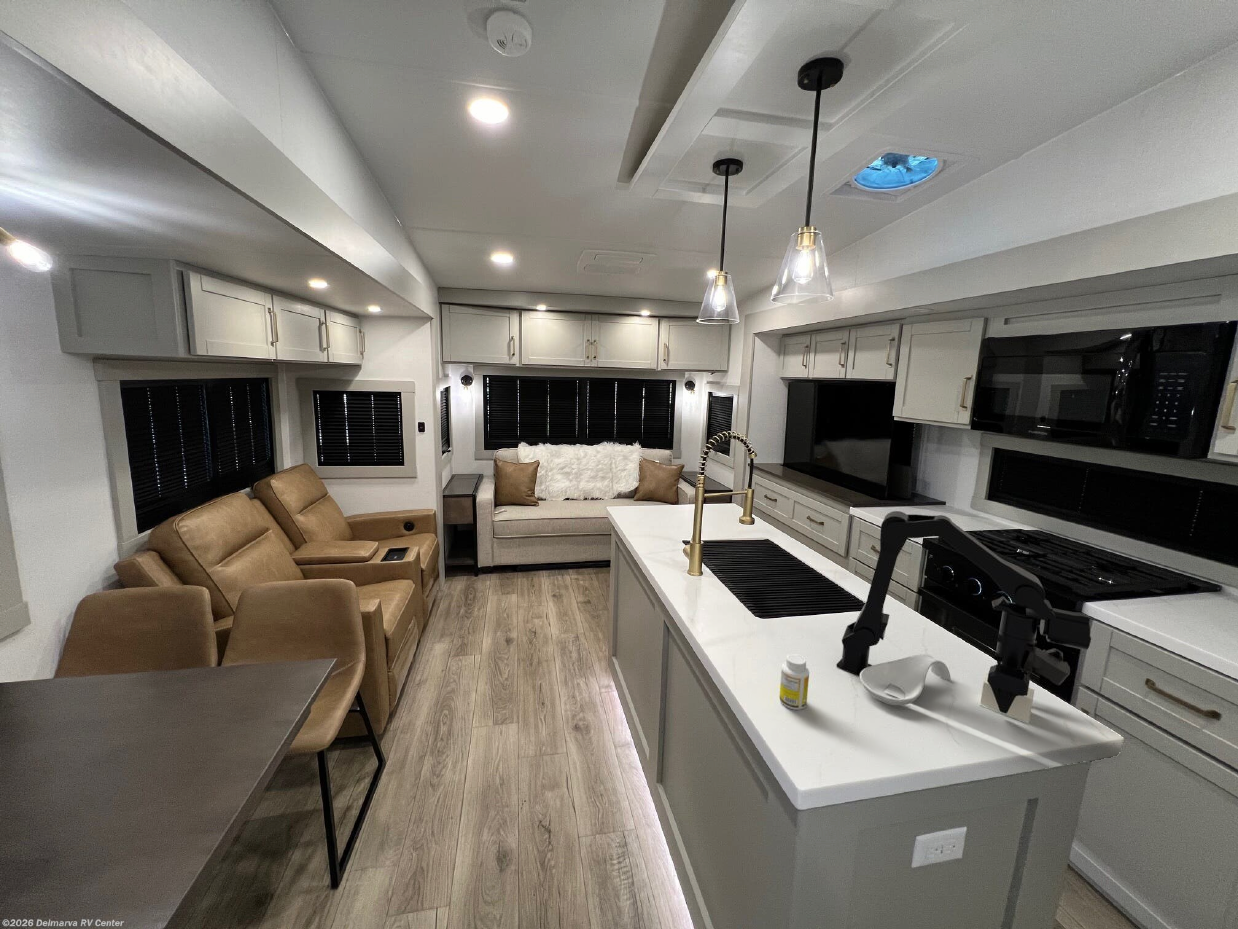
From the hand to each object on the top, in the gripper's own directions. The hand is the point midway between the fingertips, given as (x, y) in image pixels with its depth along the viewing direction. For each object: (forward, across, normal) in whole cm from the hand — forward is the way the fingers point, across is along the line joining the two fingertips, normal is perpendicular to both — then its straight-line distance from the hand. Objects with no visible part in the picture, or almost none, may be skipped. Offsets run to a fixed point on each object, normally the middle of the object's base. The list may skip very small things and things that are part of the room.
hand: (1005, 702), depth 101 cm
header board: (+2, +4, 0) cm, 5 cm away
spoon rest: (+3, -6, +17) cm, 18 cm away
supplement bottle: (+3, -29, +33) cm, 44 cm away
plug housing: (+1, 0, 0) cm, 1 cm away
